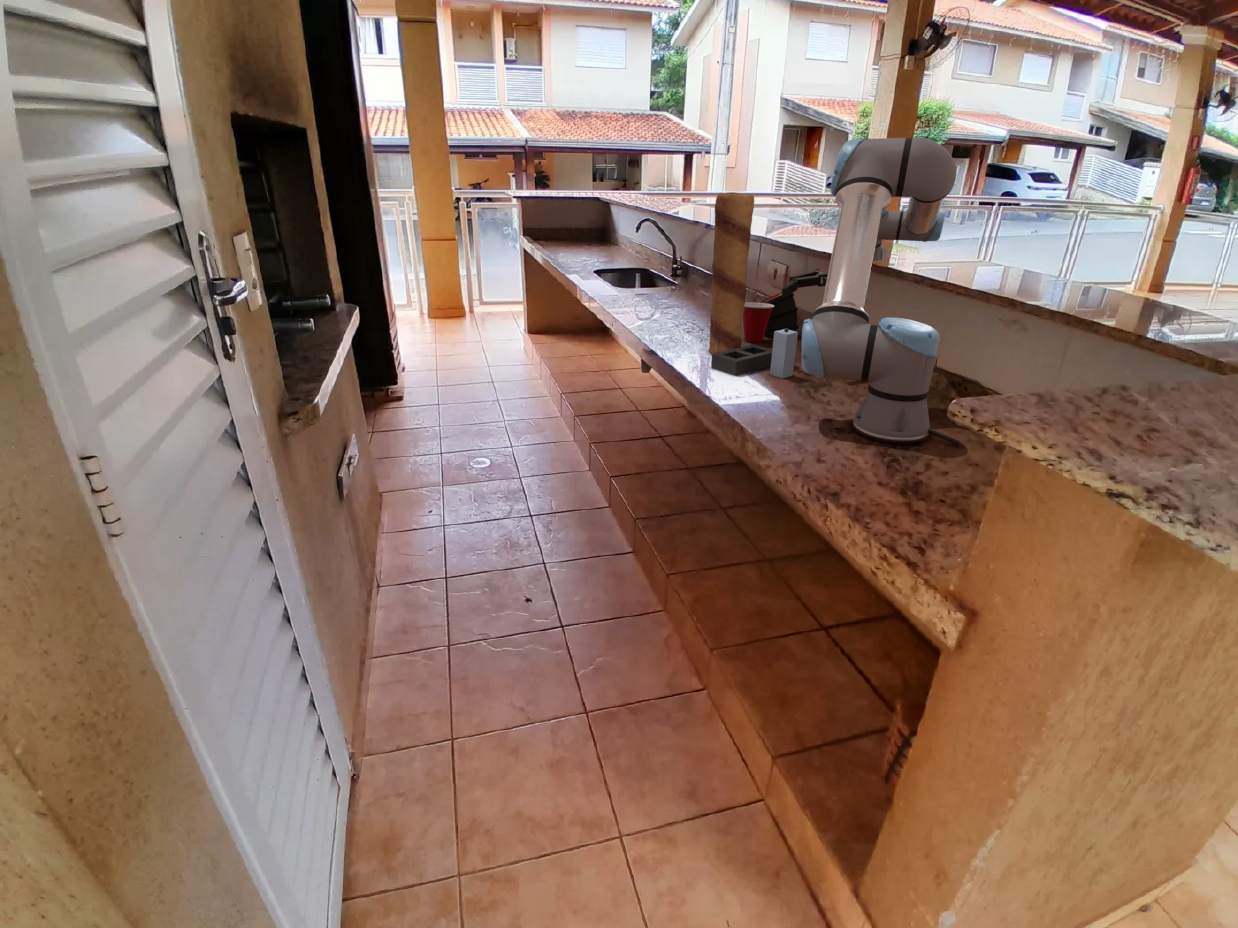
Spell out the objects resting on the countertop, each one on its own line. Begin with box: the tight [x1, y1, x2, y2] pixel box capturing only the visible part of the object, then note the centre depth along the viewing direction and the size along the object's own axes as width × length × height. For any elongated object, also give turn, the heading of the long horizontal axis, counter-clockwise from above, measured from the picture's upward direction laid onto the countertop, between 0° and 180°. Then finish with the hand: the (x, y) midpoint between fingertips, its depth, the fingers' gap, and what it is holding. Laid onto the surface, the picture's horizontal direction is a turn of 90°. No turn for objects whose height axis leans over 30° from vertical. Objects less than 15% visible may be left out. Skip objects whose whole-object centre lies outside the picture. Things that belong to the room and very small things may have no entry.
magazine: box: [758, 291, 800, 337], centre depth 205 cm, size 4×13×15 cm, turn 88°
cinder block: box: [710, 344, 772, 376], centre depth 175 cm, size 9×17×4 cm, turn 126°
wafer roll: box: [708, 191, 755, 355], centre depth 179 cm, size 10×11×45 cm
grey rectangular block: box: [769, 328, 799, 379], centre depth 166 cm, size 4×4×13 cm
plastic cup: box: [742, 301, 774, 343], centre depth 199 cm, size 11×11×12 cm
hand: (804, 299), depth 163 cm, fingers open, 13 cm apart
